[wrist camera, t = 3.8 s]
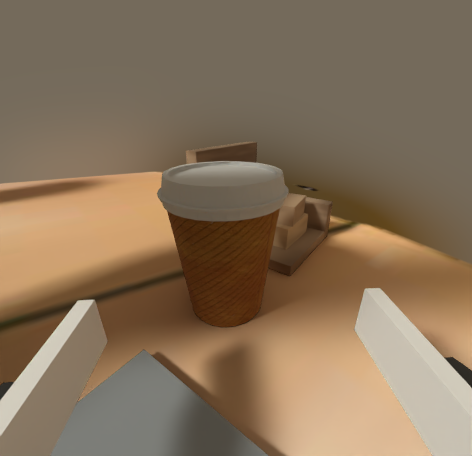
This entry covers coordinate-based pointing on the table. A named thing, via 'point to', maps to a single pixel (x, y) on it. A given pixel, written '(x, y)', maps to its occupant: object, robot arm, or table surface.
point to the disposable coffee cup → (224, 233)
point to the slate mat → (148, 418)
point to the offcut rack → (315, 208)
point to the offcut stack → (291, 221)
